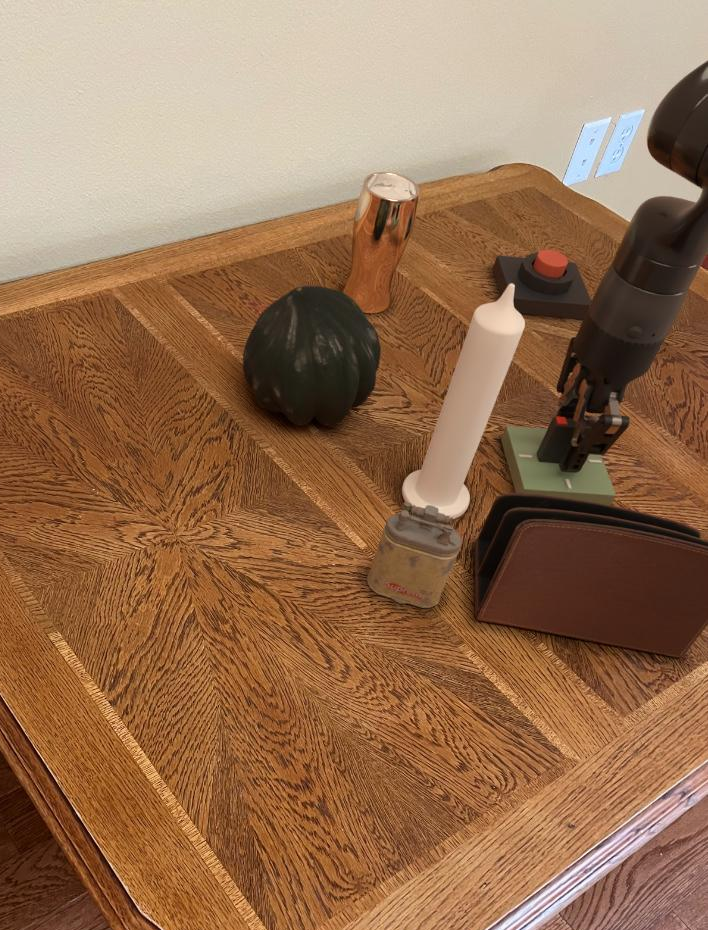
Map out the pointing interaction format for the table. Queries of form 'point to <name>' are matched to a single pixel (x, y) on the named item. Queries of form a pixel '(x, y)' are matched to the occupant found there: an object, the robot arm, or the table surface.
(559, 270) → the red button
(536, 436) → the dial panel
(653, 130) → the robot arm
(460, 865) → the table surface
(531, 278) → the button housing
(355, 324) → the squash
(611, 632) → the letter holder
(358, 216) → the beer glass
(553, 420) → the dial
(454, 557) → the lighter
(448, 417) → the candle
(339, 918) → the table surface
